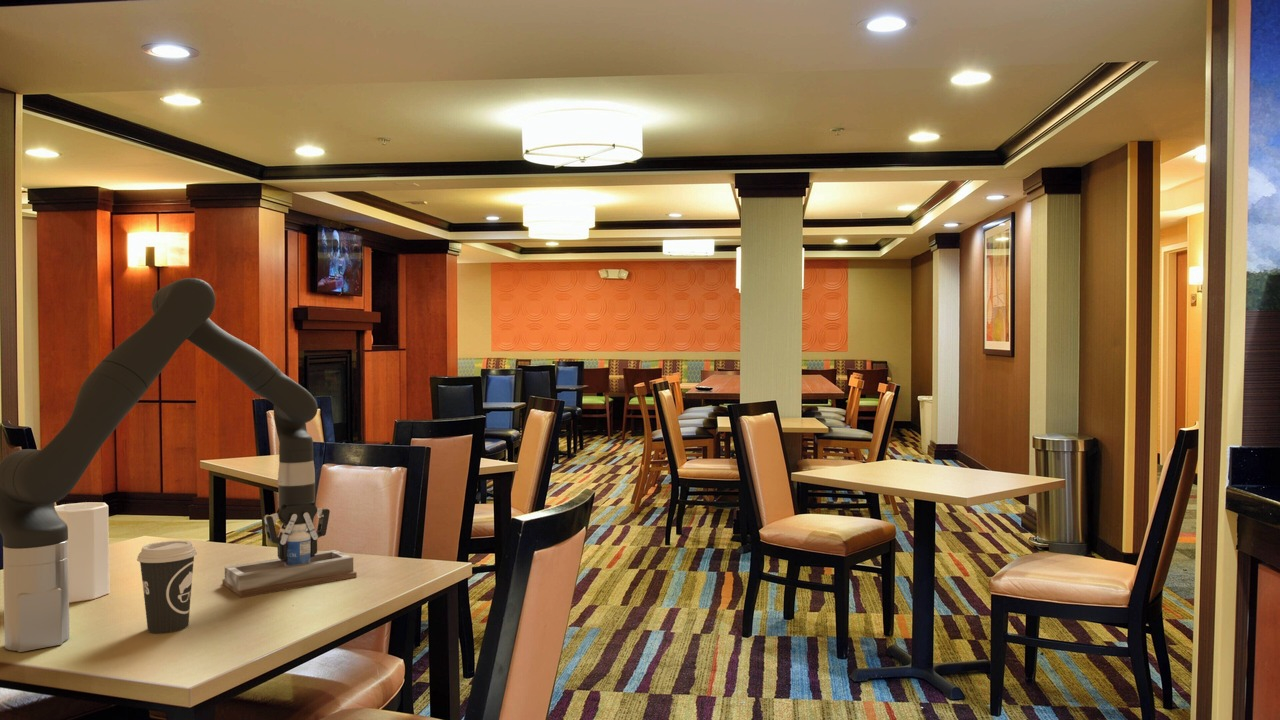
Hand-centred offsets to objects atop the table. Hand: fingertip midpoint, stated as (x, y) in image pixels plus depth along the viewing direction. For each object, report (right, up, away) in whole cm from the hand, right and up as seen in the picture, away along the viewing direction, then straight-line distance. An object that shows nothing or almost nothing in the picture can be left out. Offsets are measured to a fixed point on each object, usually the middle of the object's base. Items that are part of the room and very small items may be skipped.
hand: (297, 558), depth 192 cm
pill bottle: (0, -2, 0) cm, 2 cm away
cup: (-40, -5, -12) cm, 43 cm away
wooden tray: (-1, -5, -1) cm, 5 cm away
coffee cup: (-10, -5, -34) cm, 36 cm away
